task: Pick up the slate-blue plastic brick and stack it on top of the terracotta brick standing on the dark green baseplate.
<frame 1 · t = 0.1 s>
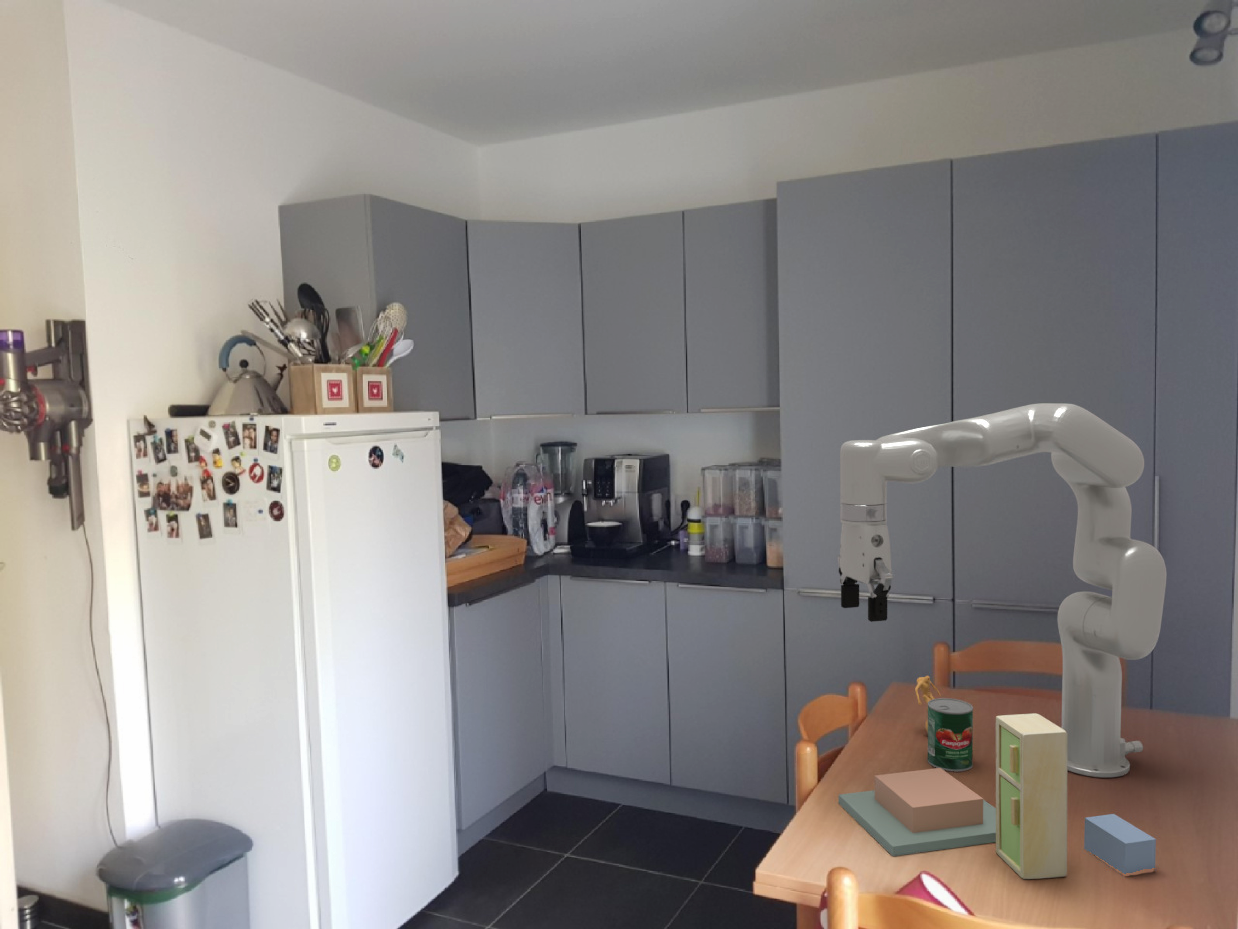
hand: (863, 613, 153), 31 cm above the table, tool pointing down, fingers open, 9 cm apart
canned tomato: (949, 764, 166), on the table
toy refrigerator: (1027, 866, 130), on the table
slate brick: (1118, 861, 131), on the table
baseplate tower: (927, 820, 144), on the table
figurine: (931, 736, 180), on the table
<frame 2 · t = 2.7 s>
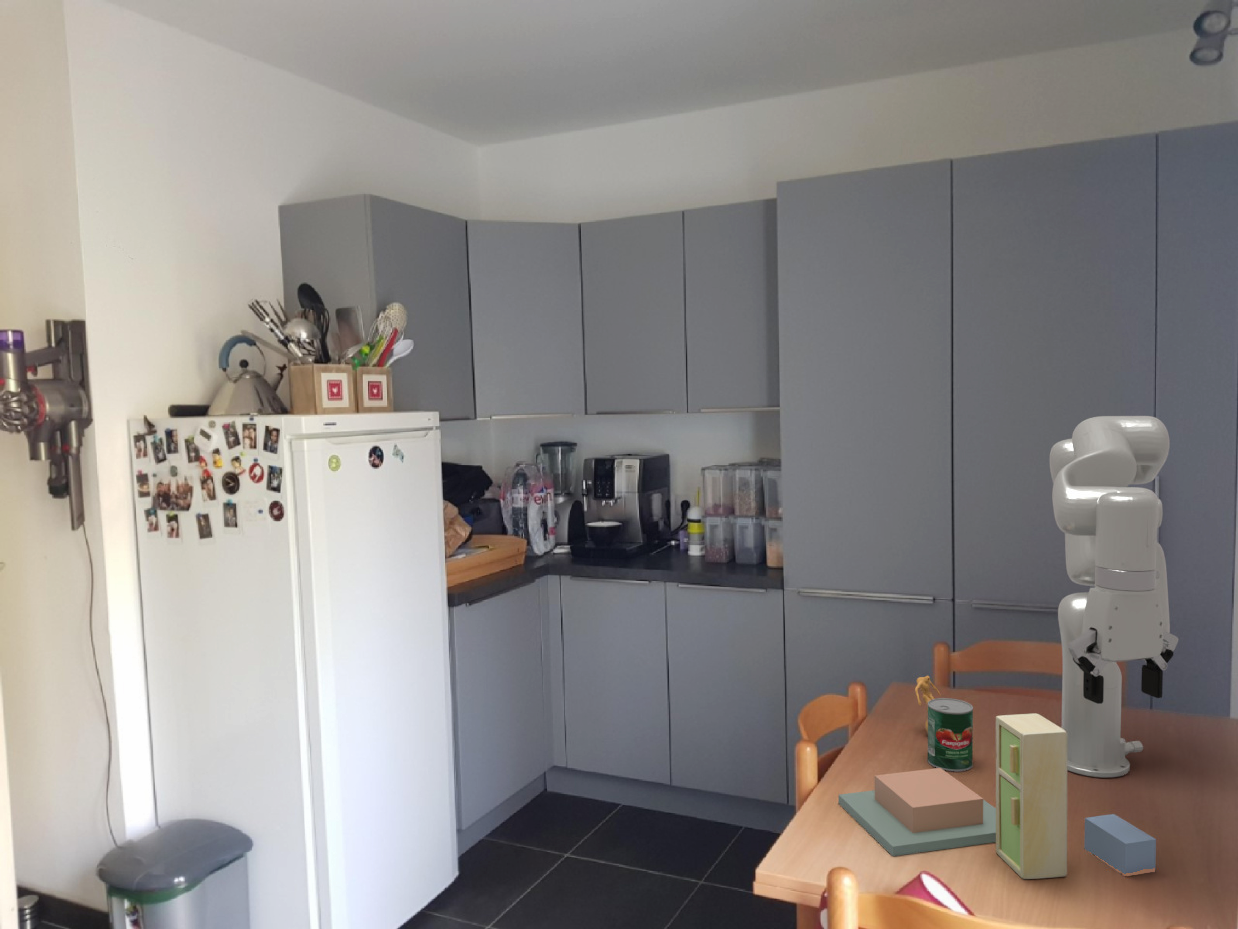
hand: (1122, 698, 129), 24 cm above the table, tool pointing down, fingers open, 9 cm apart
nothing on the table moved.
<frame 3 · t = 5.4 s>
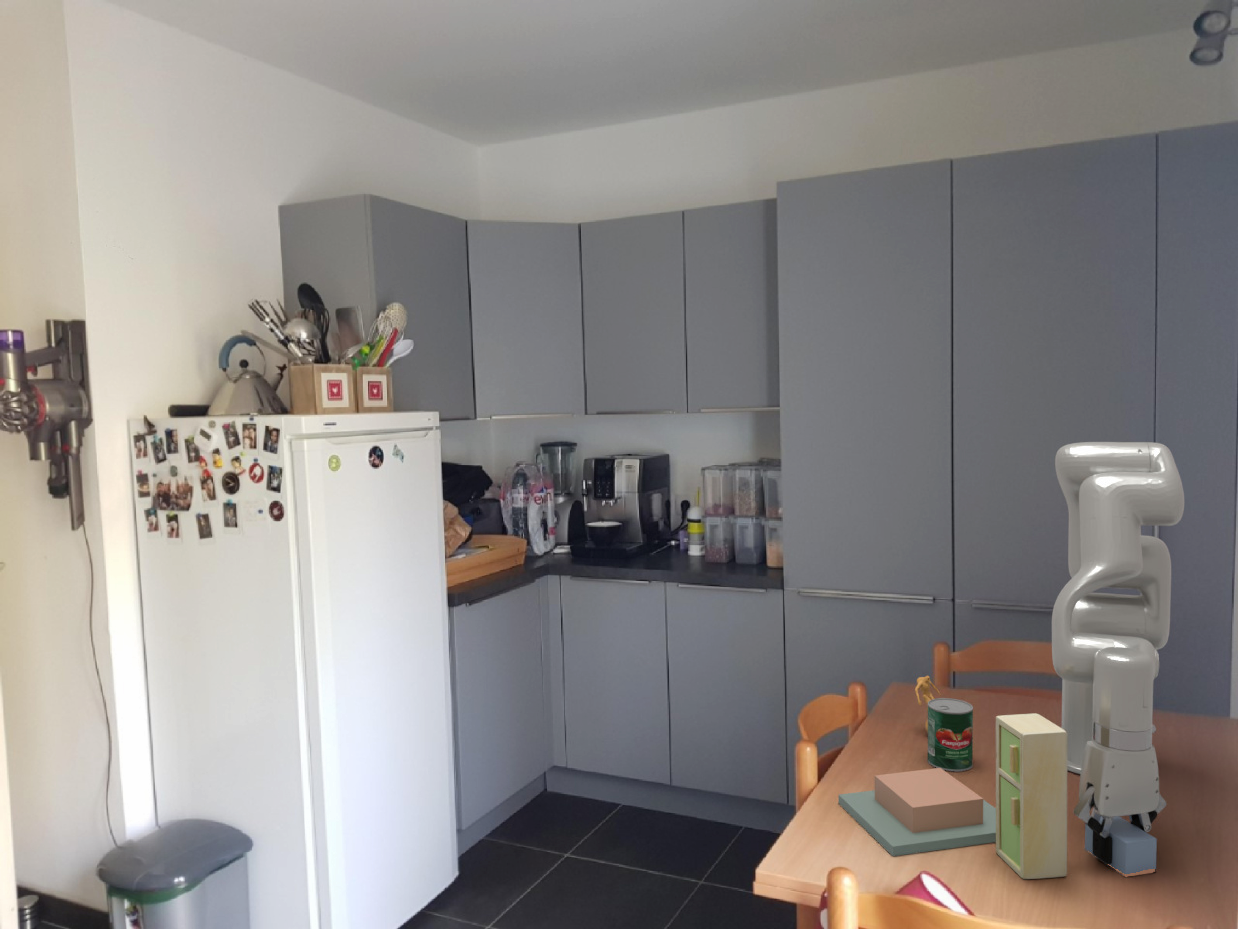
hand: (1119, 855, 131), 1 cm above the table, tool pointing down, fingers closed on slate brick, 4 cm apart
slate brick: (1119, 861, 131), on the table, touching gripper
everything else where it was.
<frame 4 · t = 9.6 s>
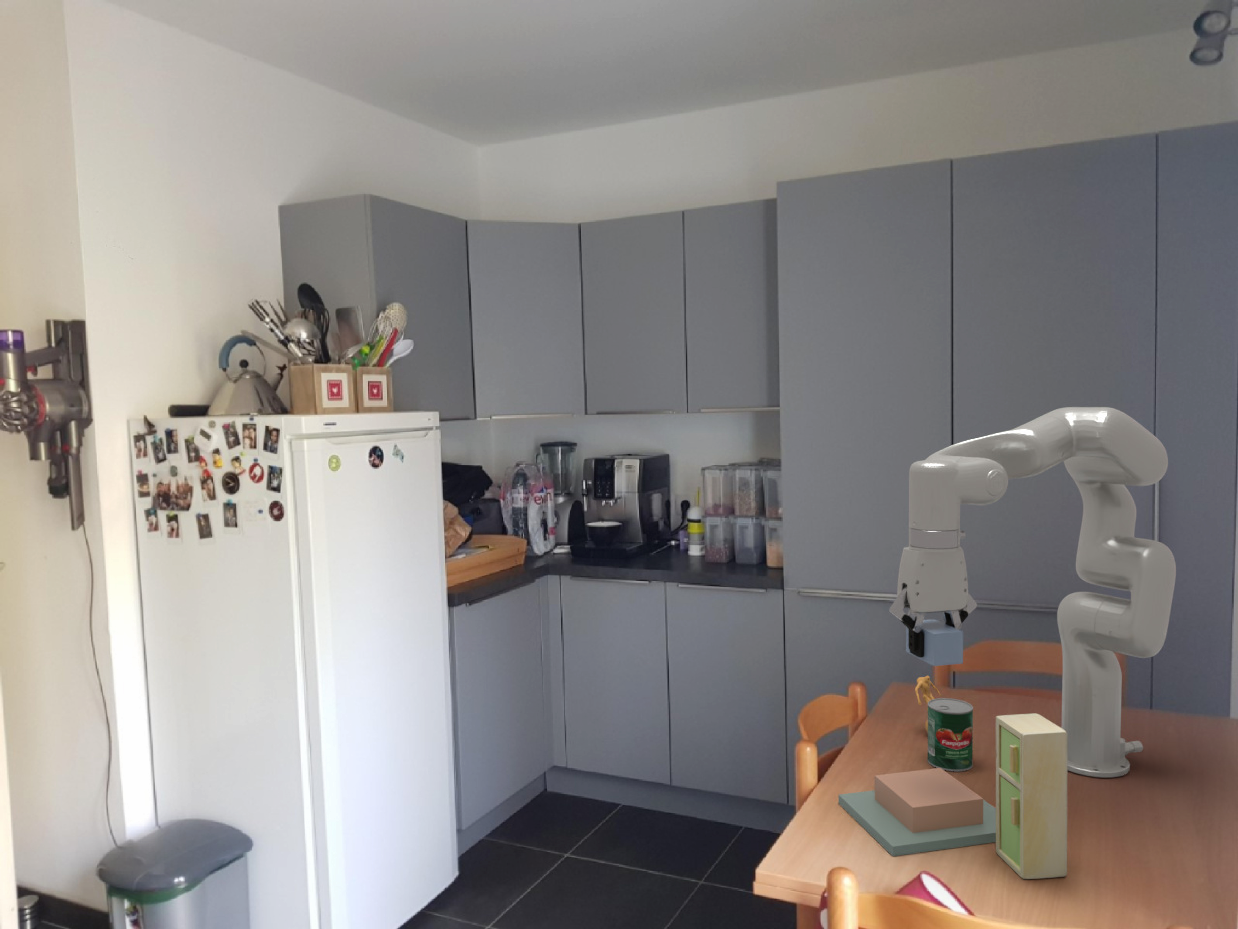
hand: (933, 652, 142), 28 cm above the table, tool pointing down, fingers closed on slate brick, 4 cm apart
slate brick: (933, 657, 142), point 27 cm above the table, touching gripper
everything else where it was.
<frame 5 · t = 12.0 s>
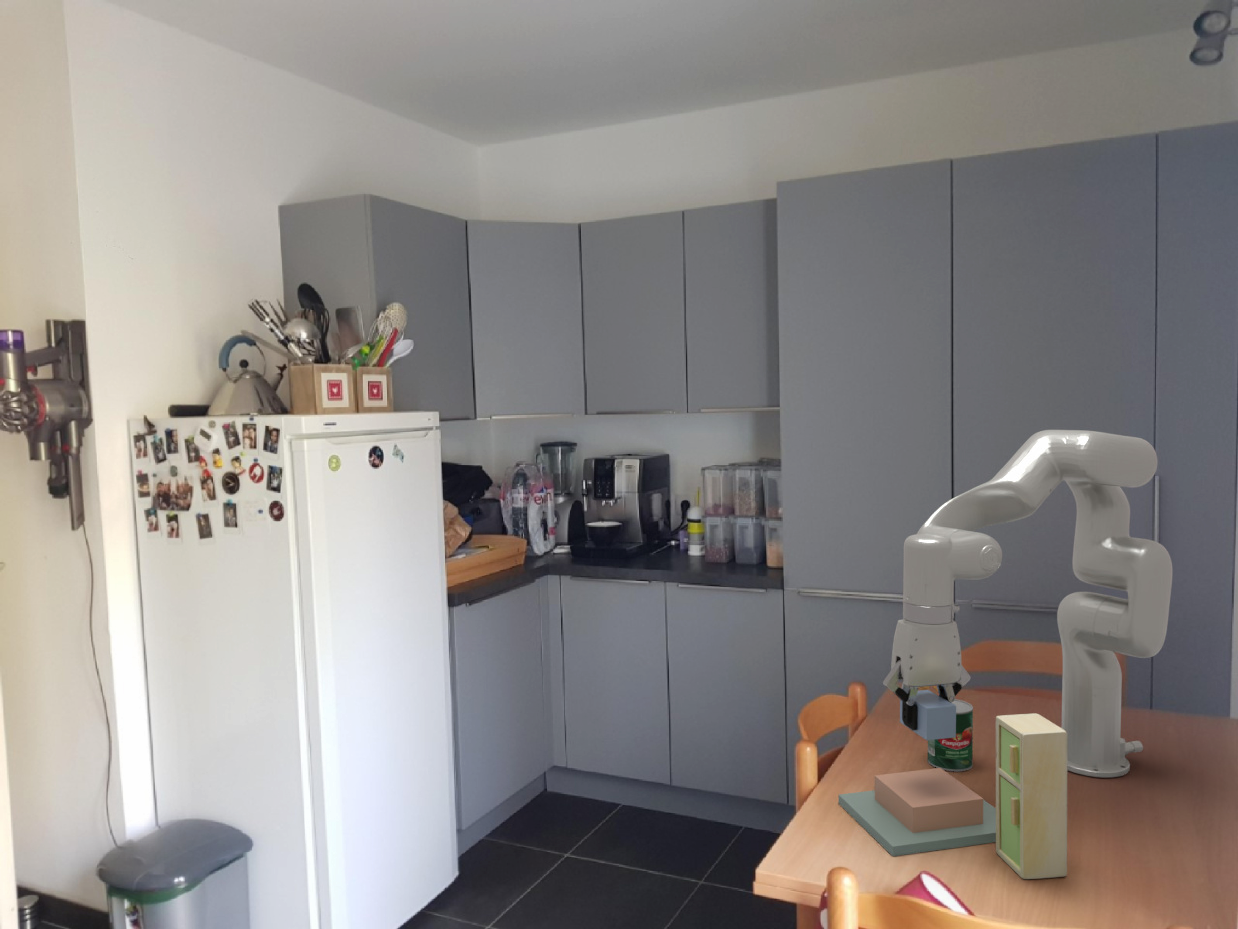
hand: (926, 724, 143), 16 cm above the table, tool pointing down, fingers closed on slate brick, 4 cm apart
slate brick: (927, 729, 143), point 15 cm above the table, touching gripper
everything else where it was.
when the fingers open (7 cm above the table, at t = 14.1 s): slate brick stays where it is, resting on baseplate tower.
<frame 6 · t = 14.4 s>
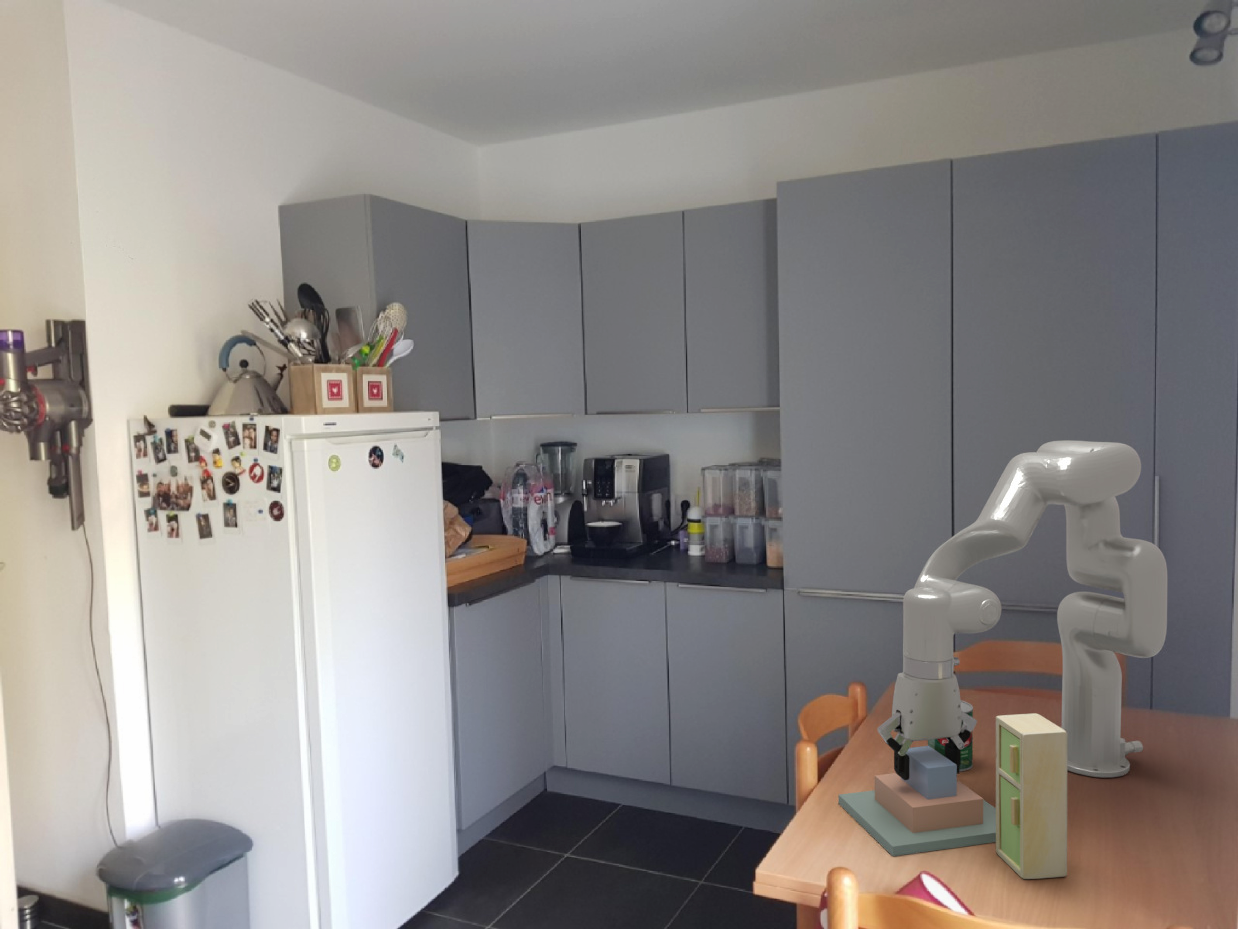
hand: (927, 773, 144), 8 cm above the table, tool pointing down, fingers open, 8 cm apart
slate brick: (928, 787, 144), point 5 cm above the table, touching baseplate tower
everything else where it was.
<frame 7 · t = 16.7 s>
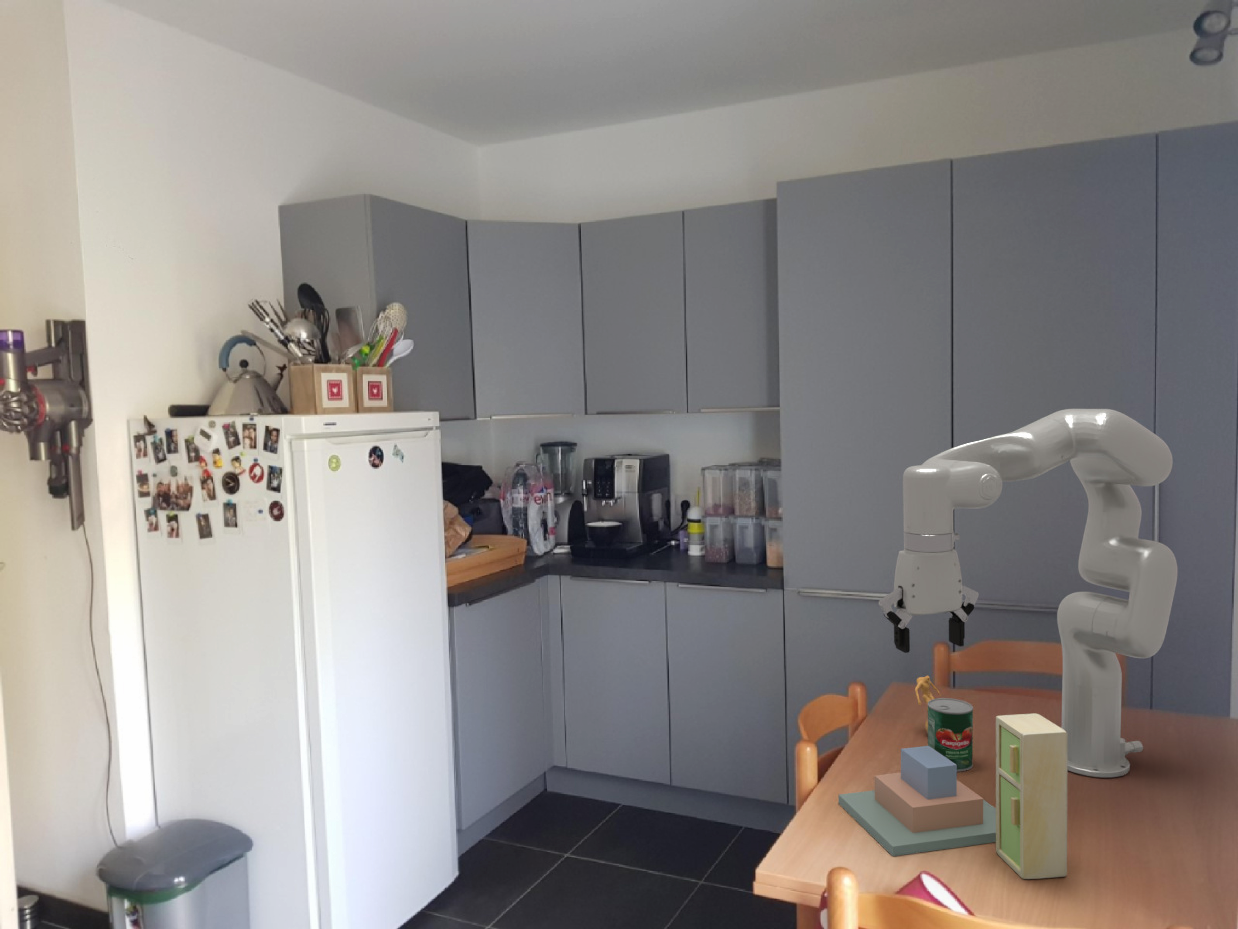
hand: (929, 647, 145), 27 cm above the table, tool pointing down, fingers open, 9 cm apart
nothing on the table moved.
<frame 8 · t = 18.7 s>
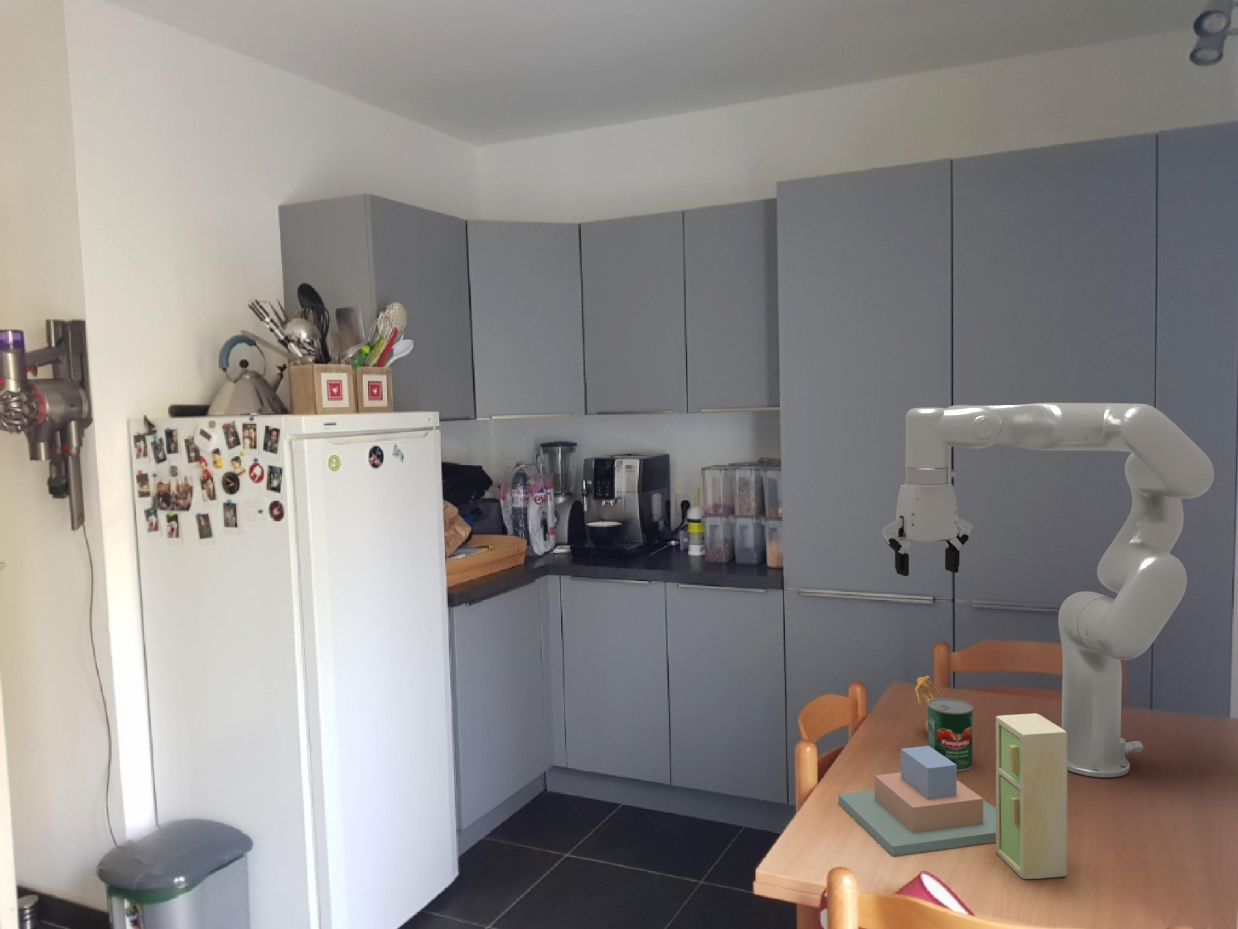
hand: (927, 573, 160), 36 cm above the table, tool pointing down, fingers open, 9 cm apart
nothing on the table moved.
at the end: slate brick 0.1 cm off-centre on the baseplate tower, point 5.5 cm above the baseplate tower's base; slate brick tilted 0°; the gripper is holding nothing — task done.
